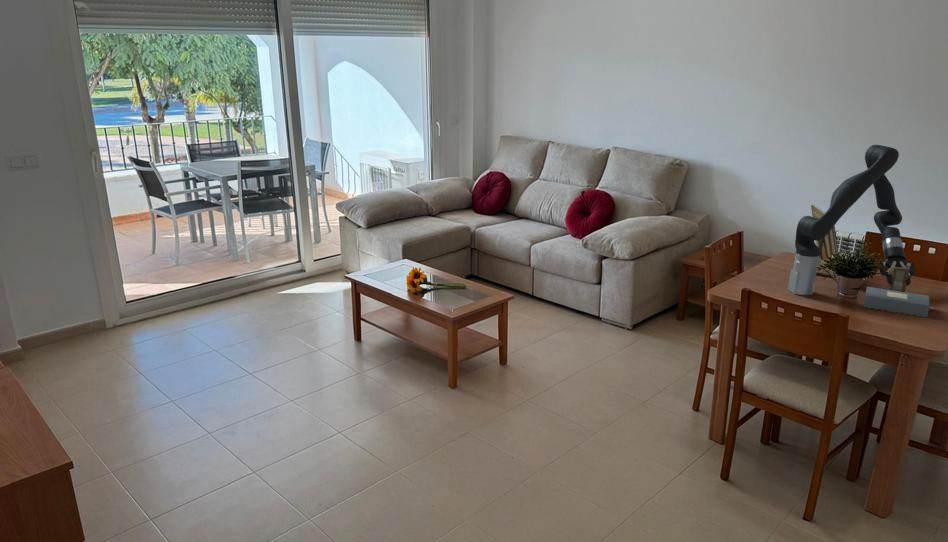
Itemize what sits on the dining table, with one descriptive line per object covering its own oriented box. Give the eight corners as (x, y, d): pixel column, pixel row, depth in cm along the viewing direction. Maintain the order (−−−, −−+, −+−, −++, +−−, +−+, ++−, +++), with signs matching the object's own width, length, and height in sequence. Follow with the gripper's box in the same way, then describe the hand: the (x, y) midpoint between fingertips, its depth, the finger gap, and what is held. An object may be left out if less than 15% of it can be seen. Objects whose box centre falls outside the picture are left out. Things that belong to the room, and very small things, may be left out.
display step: (863, 307, 277) (865, 295, 276) (864, 297, 289) (867, 286, 287) (927, 317, 266) (929, 305, 265) (926, 307, 278) (928, 295, 276)
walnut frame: (884, 294, 293) (890, 265, 289) (899, 295, 292) (905, 266, 288) (890, 298, 287) (896, 269, 284) (905, 299, 286) (911, 270, 283)
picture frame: (842, 285, 305) (854, 219, 296) (818, 283, 307) (829, 218, 298) (822, 265, 336) (832, 205, 327) (800, 263, 338) (810, 204, 329)
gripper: (879, 244, 292) (884, 279, 284) (915, 246, 290) (922, 281, 282) (872, 253, 298) (877, 287, 291) (907, 255, 296) (914, 289, 288)
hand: (899, 284), depth 286 cm, fingers closed on walnut frame, 6 cm apart
